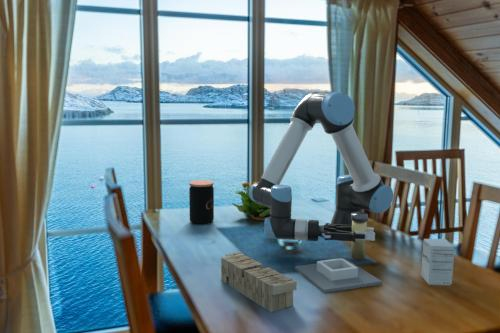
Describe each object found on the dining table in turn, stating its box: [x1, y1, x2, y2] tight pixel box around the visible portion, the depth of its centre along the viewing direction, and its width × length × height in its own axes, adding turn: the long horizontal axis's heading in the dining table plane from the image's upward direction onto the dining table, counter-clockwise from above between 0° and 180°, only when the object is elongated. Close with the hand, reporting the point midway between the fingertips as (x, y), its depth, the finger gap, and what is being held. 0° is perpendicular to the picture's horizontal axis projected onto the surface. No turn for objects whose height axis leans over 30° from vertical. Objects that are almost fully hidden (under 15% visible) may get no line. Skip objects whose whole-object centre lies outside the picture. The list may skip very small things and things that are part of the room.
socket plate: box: [294, 257, 383, 294], centre depth 154 cm, size 20×20×4 cm
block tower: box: [220, 251, 298, 313], centre depth 142 cm, size 8×8×29 cm
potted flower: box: [231, 181, 270, 221], centre depth 222 cm, size 25×24×18 cm
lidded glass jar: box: [349, 211, 369, 261], centre depth 171 cm, size 6×6×16 cm
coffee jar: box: [188, 179, 215, 226], centre depth 214 cm, size 11×11×18 cm
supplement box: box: [420, 238, 456, 286], centre depth 151 cm, size 7×7×13 cm
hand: (374, 234), depth 170 cm, fingers closed on lidded glass jar, 5 cm apart
